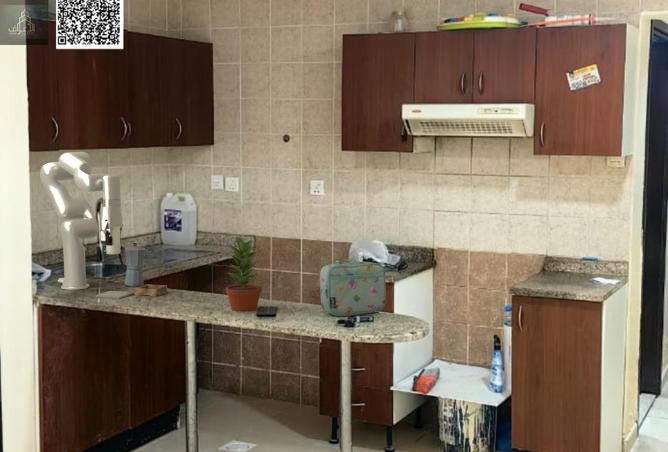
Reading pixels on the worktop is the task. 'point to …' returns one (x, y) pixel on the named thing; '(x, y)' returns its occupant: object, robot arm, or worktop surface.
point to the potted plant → (243, 279)
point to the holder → (151, 290)
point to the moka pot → (133, 264)
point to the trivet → (114, 294)
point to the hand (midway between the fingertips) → (113, 244)
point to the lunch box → (352, 288)
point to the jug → (113, 241)
